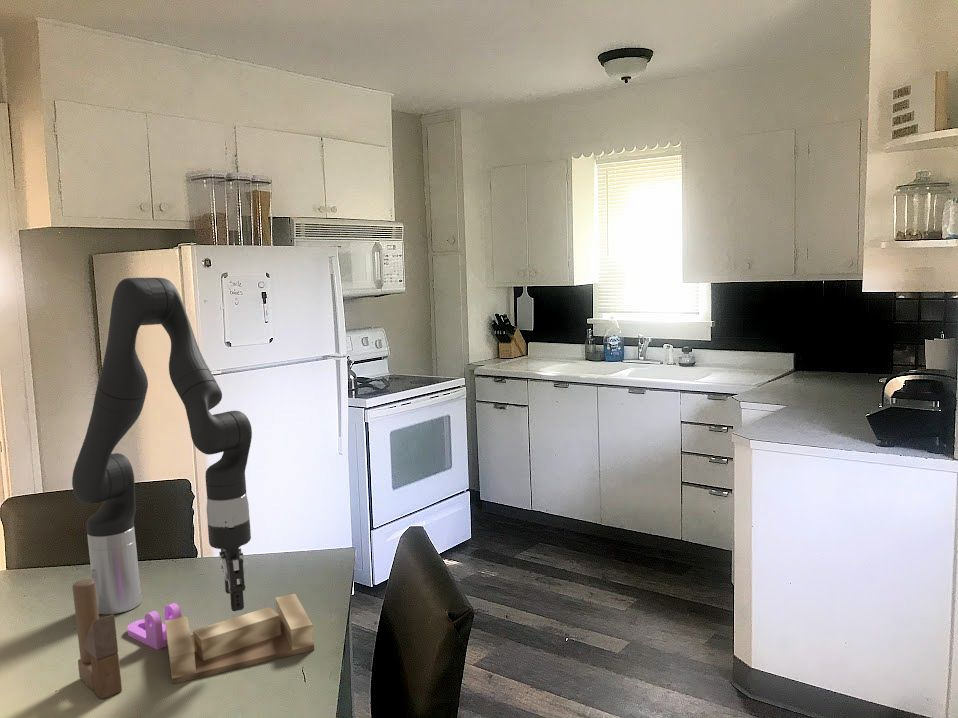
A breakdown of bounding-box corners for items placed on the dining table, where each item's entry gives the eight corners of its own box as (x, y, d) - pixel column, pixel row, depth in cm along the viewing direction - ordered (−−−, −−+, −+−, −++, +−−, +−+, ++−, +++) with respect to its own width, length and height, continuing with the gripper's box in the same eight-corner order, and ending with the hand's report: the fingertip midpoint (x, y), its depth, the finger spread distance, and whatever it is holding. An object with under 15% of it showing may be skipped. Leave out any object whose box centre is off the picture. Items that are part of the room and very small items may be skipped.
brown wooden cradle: (172, 684, 139) (170, 657, 138) (167, 645, 153) (164, 620, 153) (314, 649, 149) (312, 624, 148) (296, 616, 164) (295, 593, 163)
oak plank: (203, 660, 145) (201, 640, 144) (194, 650, 149) (192, 630, 148) (280, 634, 154) (279, 615, 153) (270, 626, 158) (269, 606, 157)
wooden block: (101, 700, 135) (90, 599, 132) (79, 678, 142) (68, 582, 140) (123, 691, 137) (112, 592, 135) (100, 670, 145) (90, 576, 143)
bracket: (183, 639, 156) (180, 605, 155) (157, 650, 152) (154, 616, 151) (148, 622, 164) (145, 590, 163) (122, 633, 160) (119, 600, 159)
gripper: (203, 510, 153) (209, 590, 155) (211, 533, 140) (218, 620, 142) (243, 504, 156) (249, 583, 158) (255, 526, 143) (261, 611, 145)
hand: (234, 600), depth 150 cm, fingers open, 8 cm apart
